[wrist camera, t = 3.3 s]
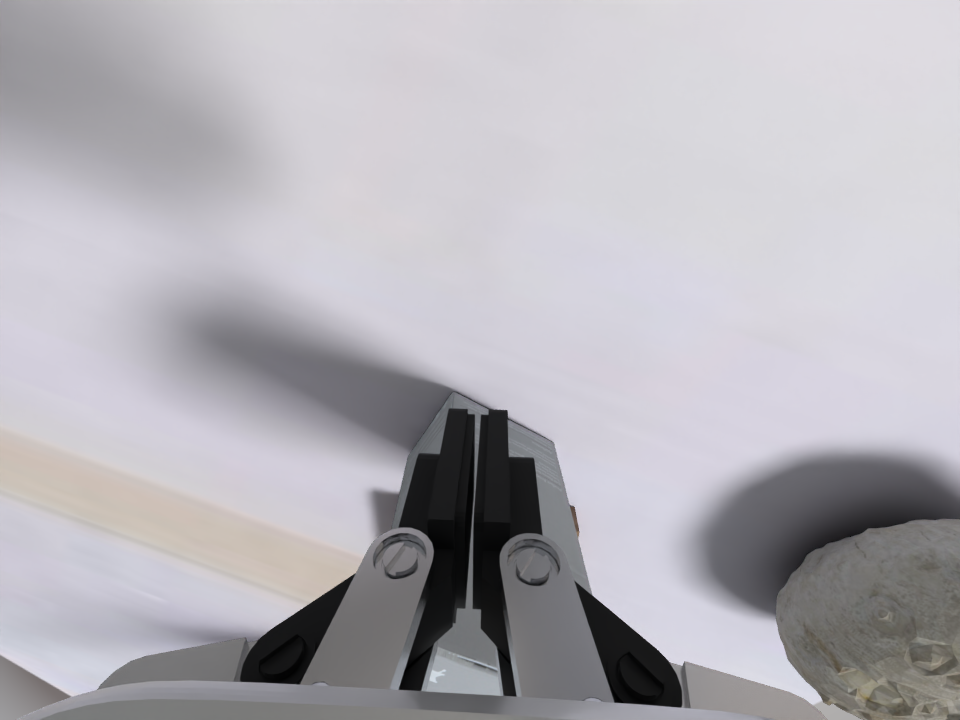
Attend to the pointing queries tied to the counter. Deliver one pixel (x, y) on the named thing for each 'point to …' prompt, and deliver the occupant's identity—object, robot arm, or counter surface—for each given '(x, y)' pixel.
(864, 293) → the counter surface
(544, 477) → the skincare box
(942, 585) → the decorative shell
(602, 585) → the counter surface
